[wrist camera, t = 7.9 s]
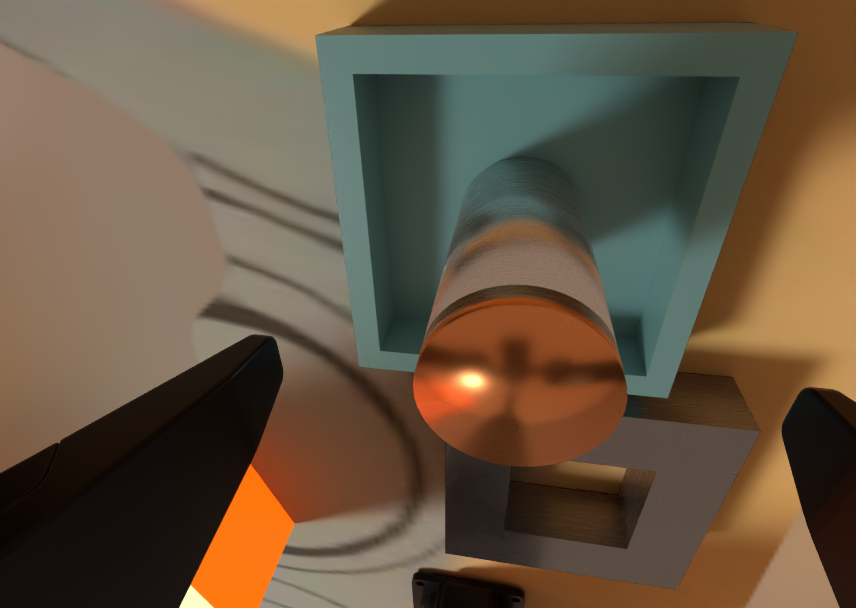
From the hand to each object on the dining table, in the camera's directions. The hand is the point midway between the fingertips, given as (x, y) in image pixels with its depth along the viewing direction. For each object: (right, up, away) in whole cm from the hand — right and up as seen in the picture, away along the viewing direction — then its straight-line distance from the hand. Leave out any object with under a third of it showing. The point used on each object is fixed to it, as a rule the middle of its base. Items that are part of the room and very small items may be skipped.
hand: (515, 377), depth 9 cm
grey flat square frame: (+5, -5, +12) cm, 14 cm away
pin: (+1, +4, +6) cm, 7 cm away
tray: (+1, +4, +7) cm, 8 cm away
